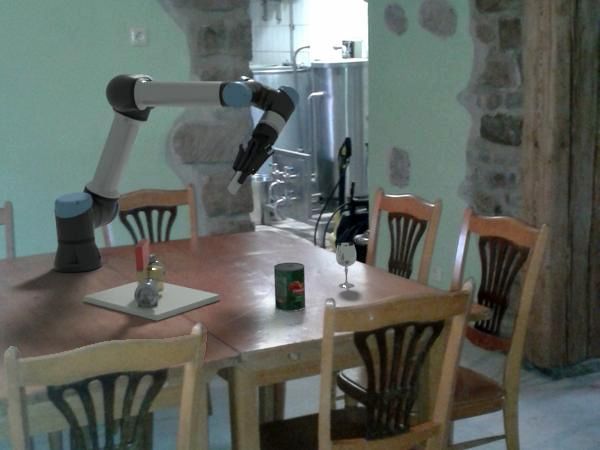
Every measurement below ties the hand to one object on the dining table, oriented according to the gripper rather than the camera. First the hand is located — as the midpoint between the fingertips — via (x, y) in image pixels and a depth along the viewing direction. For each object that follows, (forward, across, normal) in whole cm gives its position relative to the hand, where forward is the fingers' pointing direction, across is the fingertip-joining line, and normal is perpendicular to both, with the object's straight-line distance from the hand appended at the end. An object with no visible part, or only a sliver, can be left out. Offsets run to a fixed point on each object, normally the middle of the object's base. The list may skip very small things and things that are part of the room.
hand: (231, 191), depth 227 cm
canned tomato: (+27, -31, -11) cm, 42 cm away
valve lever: (+34, 0, +12) cm, 36 cm away
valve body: (+38, +4, +2) cm, 38 cm away
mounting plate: (+39, +4, +1) cm, 39 cm away
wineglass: (+9, -31, -29) cm, 43 cm away
